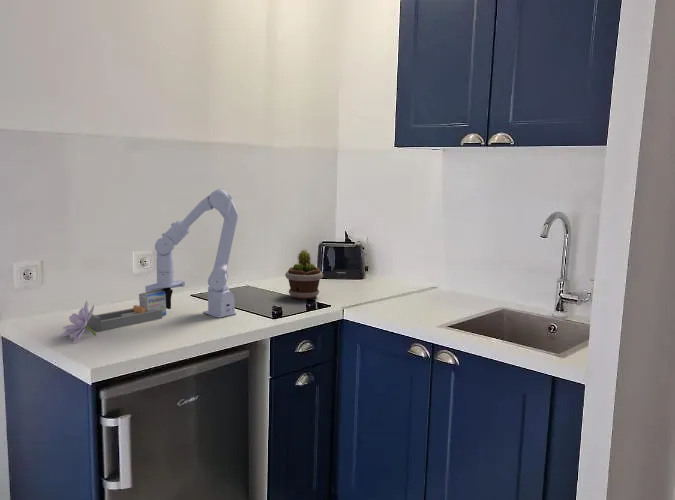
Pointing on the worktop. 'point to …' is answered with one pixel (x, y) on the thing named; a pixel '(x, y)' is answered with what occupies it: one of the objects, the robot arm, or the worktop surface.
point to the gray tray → (121, 319)
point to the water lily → (79, 323)
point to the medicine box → (153, 301)
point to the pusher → (135, 310)
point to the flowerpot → (304, 278)
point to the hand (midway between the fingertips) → (165, 309)
